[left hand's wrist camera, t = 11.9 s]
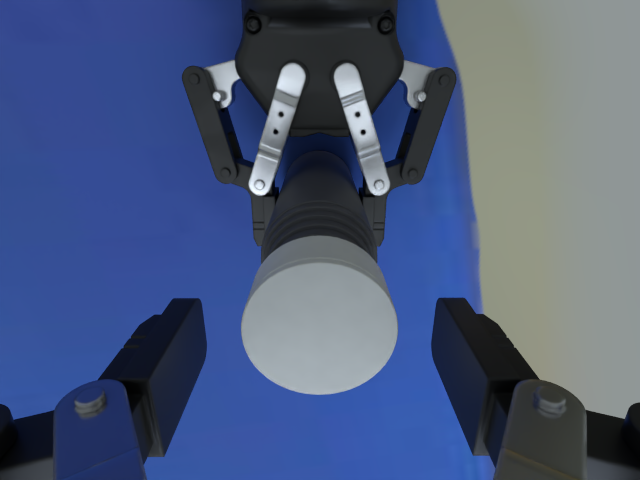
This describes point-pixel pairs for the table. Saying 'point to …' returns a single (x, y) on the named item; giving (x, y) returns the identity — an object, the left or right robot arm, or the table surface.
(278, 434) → the table surface
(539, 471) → the left robot arm
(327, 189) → the bottle
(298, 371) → the cap
